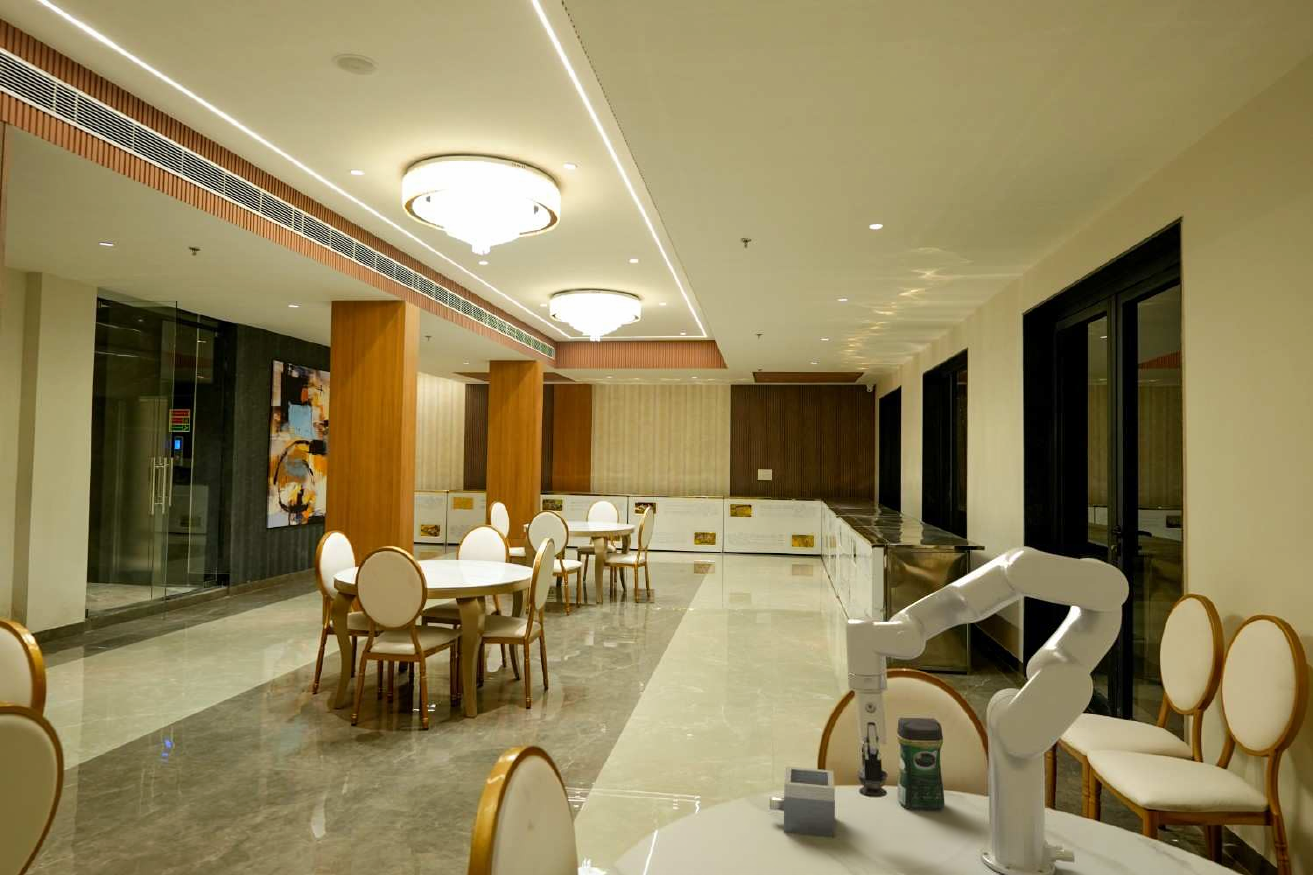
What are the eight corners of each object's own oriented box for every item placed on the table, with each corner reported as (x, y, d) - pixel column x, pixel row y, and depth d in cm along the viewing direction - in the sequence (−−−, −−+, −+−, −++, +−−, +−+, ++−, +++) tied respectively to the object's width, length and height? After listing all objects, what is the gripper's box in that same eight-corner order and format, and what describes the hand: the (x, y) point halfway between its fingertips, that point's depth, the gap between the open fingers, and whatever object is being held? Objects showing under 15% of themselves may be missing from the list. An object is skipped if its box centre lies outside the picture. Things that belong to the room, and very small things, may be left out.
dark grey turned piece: (851, 789, 154) (848, 727, 155) (877, 784, 156) (874, 723, 157) (868, 799, 148) (865, 735, 149) (894, 795, 150) (891, 732, 151)
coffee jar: (936, 797, 174) (936, 713, 175) (948, 812, 166) (948, 724, 167) (893, 796, 174) (893, 712, 175) (903, 811, 166) (902, 723, 167)
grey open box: (833, 812, 165) (833, 767, 165) (834, 837, 153) (835, 788, 154) (771, 806, 167) (771, 761, 168) (768, 830, 156) (769, 782, 156)
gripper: (891, 692, 145) (896, 791, 143) (883, 671, 161) (887, 759, 160) (850, 691, 146) (855, 789, 145) (846, 670, 163) (850, 758, 162)
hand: (872, 773), depth 152 cm, fingers closed on dark grey turned piece, 5 cm apart
